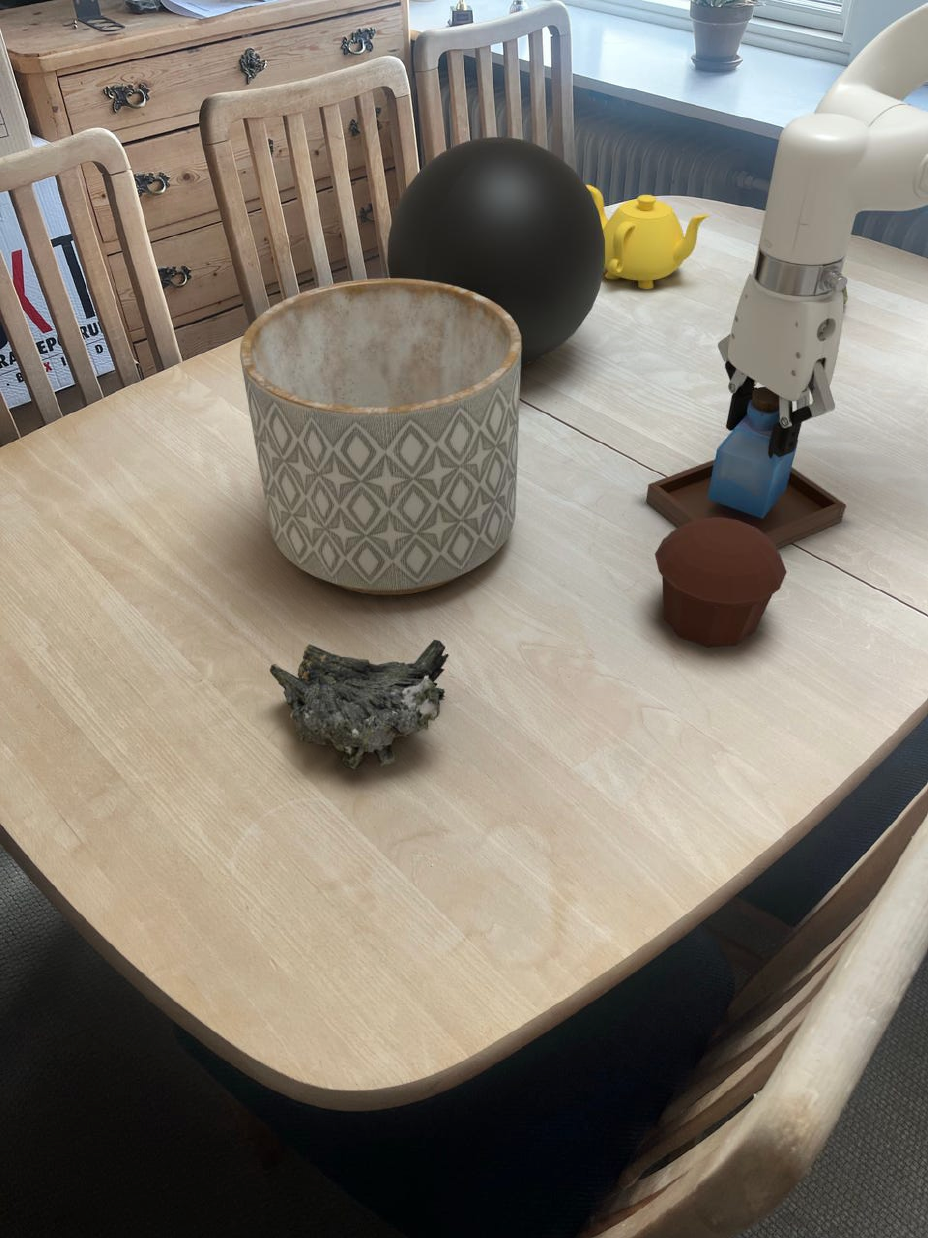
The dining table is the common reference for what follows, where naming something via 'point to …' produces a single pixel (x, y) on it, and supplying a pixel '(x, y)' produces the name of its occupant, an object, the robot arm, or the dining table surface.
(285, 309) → the planter
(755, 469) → the perfume bottle
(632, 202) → the teapot
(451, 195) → the ball
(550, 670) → the dining table surface
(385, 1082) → the dining table surface
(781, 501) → the tray
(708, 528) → the muffin
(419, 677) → the mineral specimen
